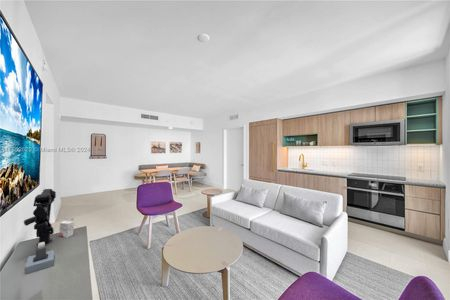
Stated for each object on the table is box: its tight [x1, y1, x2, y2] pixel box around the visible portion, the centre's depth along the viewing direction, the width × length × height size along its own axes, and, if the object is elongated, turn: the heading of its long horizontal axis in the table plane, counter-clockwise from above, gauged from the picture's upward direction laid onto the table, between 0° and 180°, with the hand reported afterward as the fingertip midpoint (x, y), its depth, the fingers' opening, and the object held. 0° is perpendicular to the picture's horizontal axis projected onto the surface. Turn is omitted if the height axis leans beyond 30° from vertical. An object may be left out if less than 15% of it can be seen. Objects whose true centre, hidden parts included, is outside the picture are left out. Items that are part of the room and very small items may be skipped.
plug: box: [35, 242, 48, 262], centre depth 111 cm, size 4×4×12 cm
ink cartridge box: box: [58, 216, 75, 238], centre depth 148 cm, size 9×5×15 cm, turn 84°
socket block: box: [24, 249, 55, 275], centre depth 111 cm, size 14×12×4 cm
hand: (41, 233), depth 124 cm, fingers open, 9 cm apart
